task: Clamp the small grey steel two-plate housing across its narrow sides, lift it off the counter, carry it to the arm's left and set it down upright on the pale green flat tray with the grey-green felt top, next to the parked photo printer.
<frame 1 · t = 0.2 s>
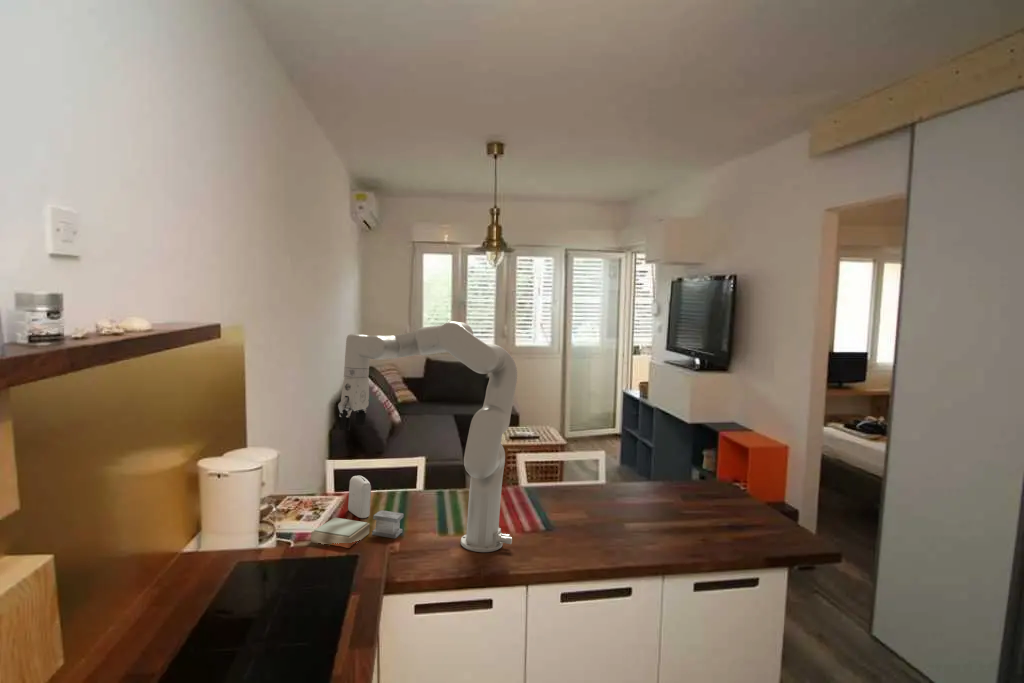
hand: (352, 427, 167), 30 cm above the table, tool pointing down, fingers open, 9 cm apart
photo printer: (358, 514, 176), on the table
pale green flat tray: (340, 537, 156), on the table
steel housing: (387, 533, 161), on the table
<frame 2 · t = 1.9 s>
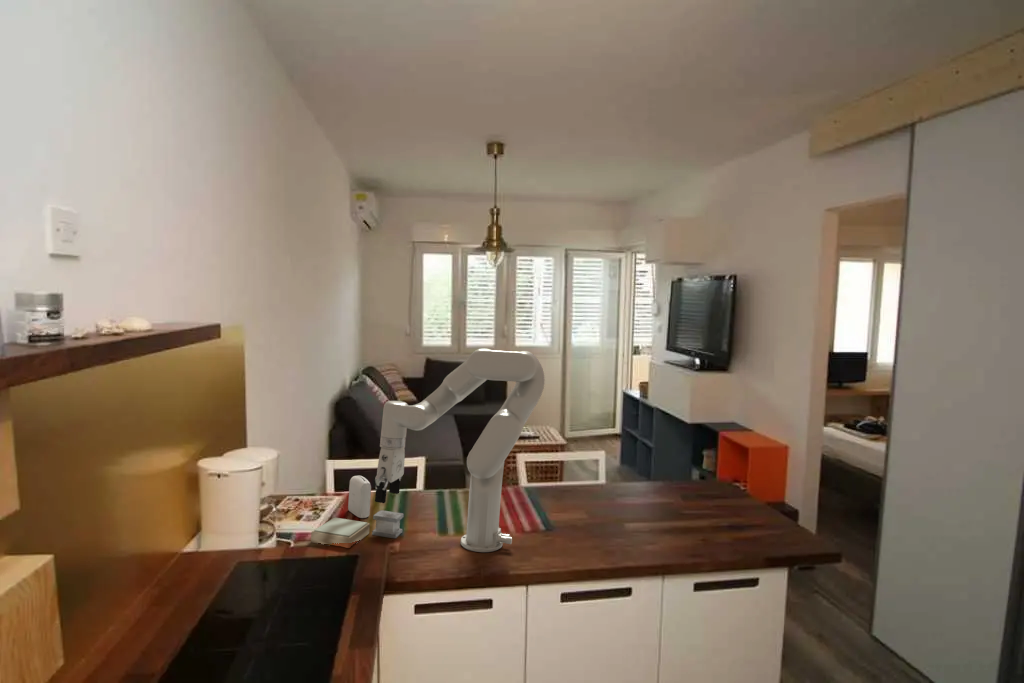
hand: (387, 497, 161), 11 cm above the table, tool pointing down, fingers open, 9 cm apart
nothing on the table moved.
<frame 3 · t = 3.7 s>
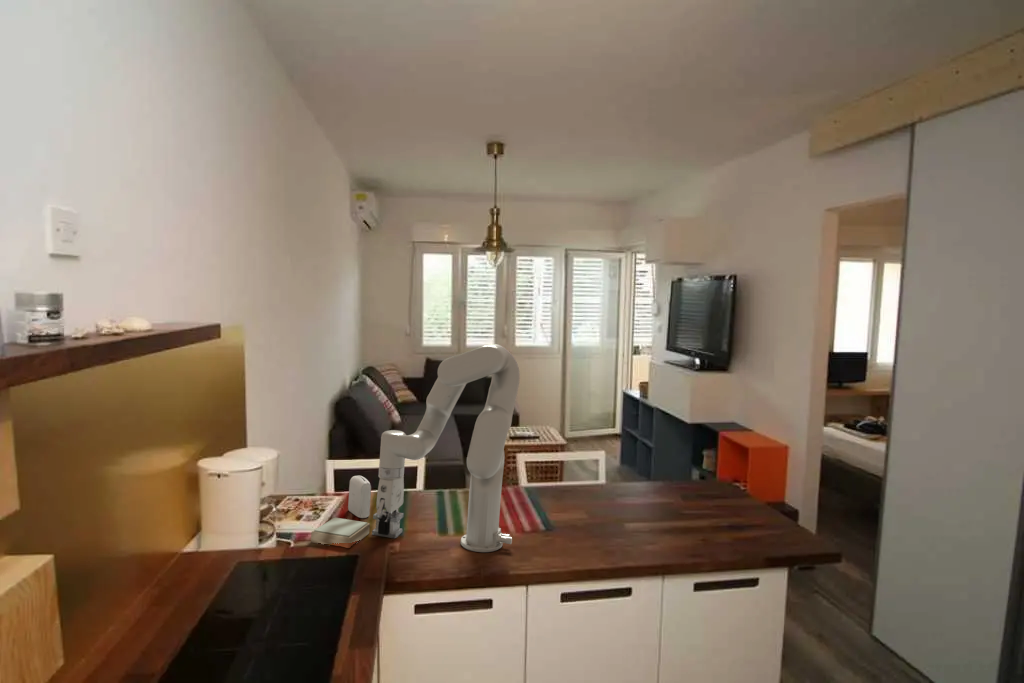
hand: (387, 530, 161), 1 cm above the table, tool pointing down, fingers closed on steel housing, 5 cm apart
steel housing: (387, 533, 161), on the table, touching gripper
everything else where it was.
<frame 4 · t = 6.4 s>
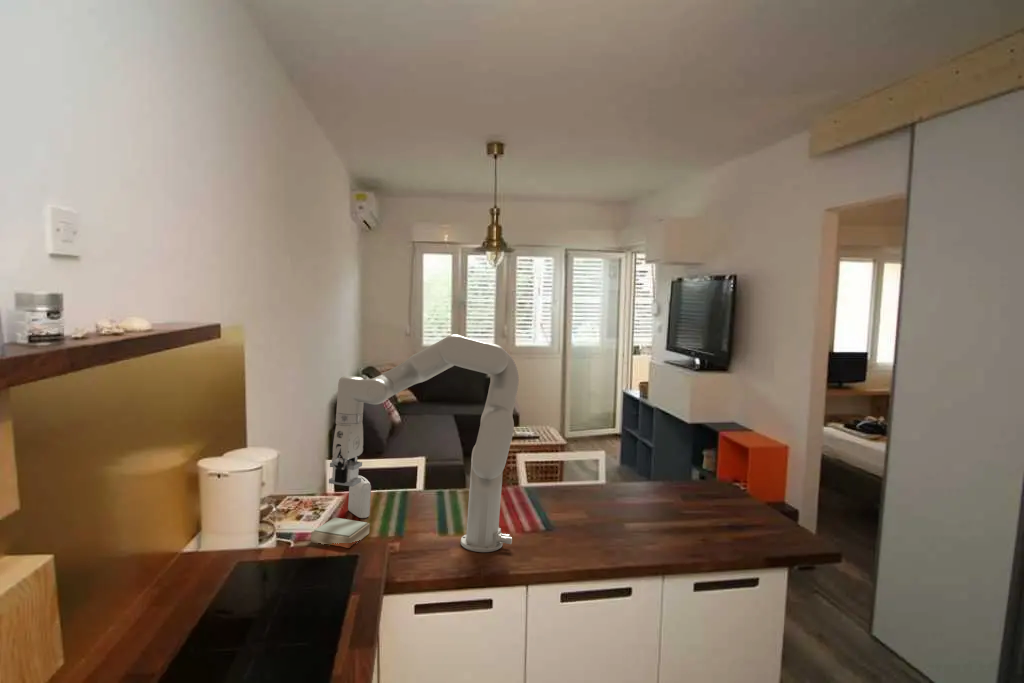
hand: (345, 479, 155), 17 cm above the table, tool pointing down, fingers closed on steel housing, 5 cm apart
steel housing: (344, 482, 155), point 16 cm above the table, touching gripper
everything else where it was.
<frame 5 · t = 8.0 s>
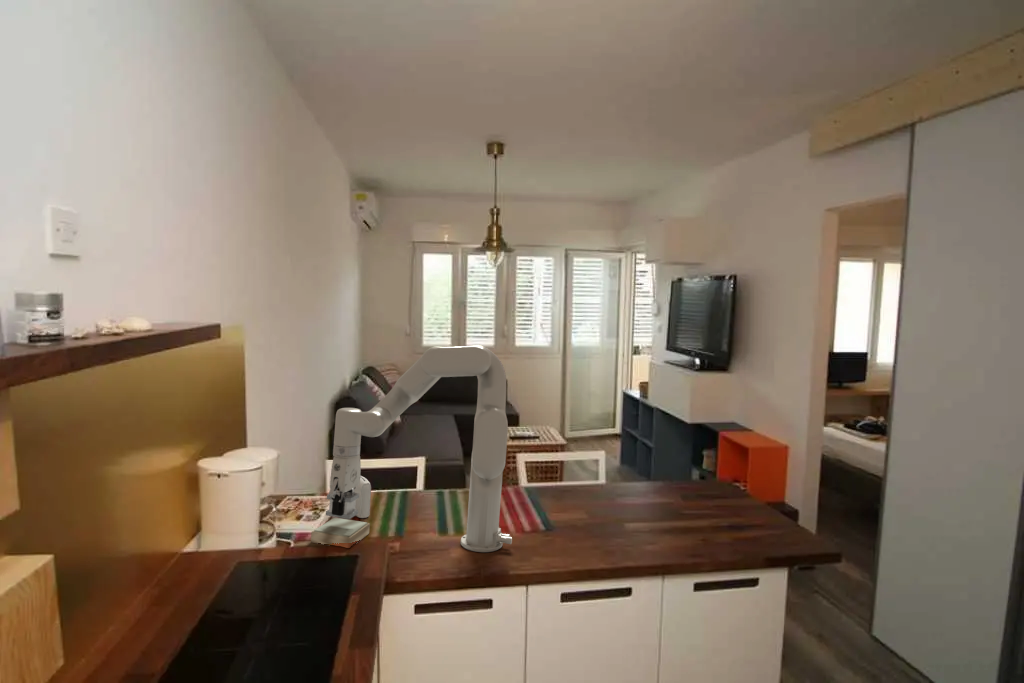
hand: (342, 511, 156), 8 cm above the table, tool pointing down, fingers closed on steel housing, 5 cm apart
steel housing: (341, 514, 156), point 7 cm above the table, touching gripper
everything else where it was.
when the fingers open (5 cm above the table, at t = 9.3 s): steel housing stays where it is, resting on pale green flat tray.
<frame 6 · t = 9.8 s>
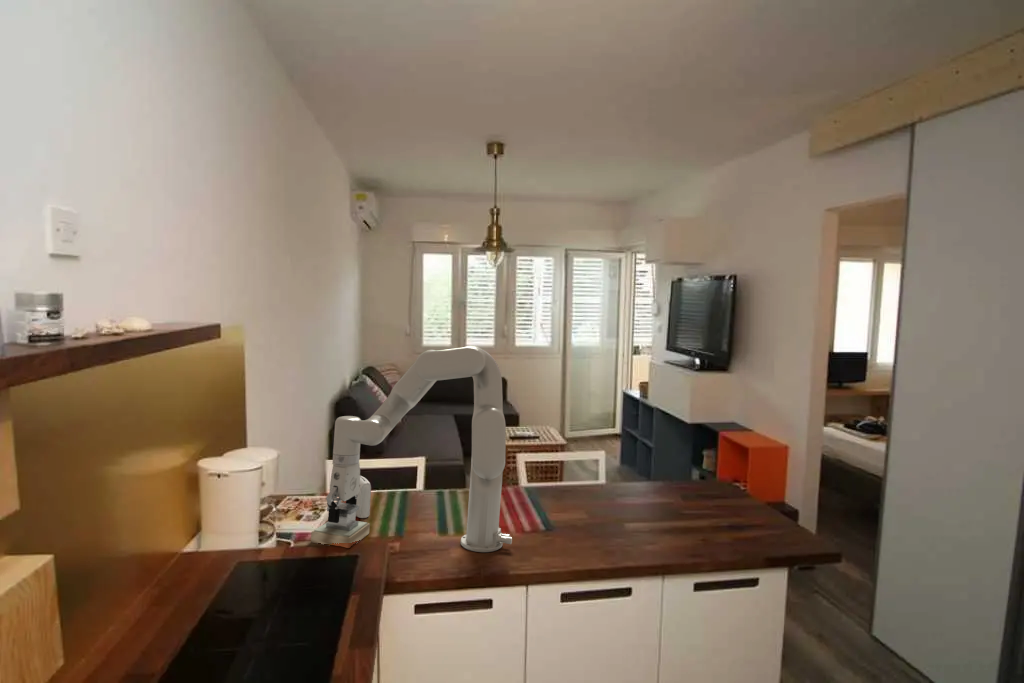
hand: (342, 516, 156), 6 cm above the table, tool pointing down, fingers open, 9 cm apart
steel housing: (342, 526, 156), point 3 cm above the table, touching pale green flat tray
everything else where it was.
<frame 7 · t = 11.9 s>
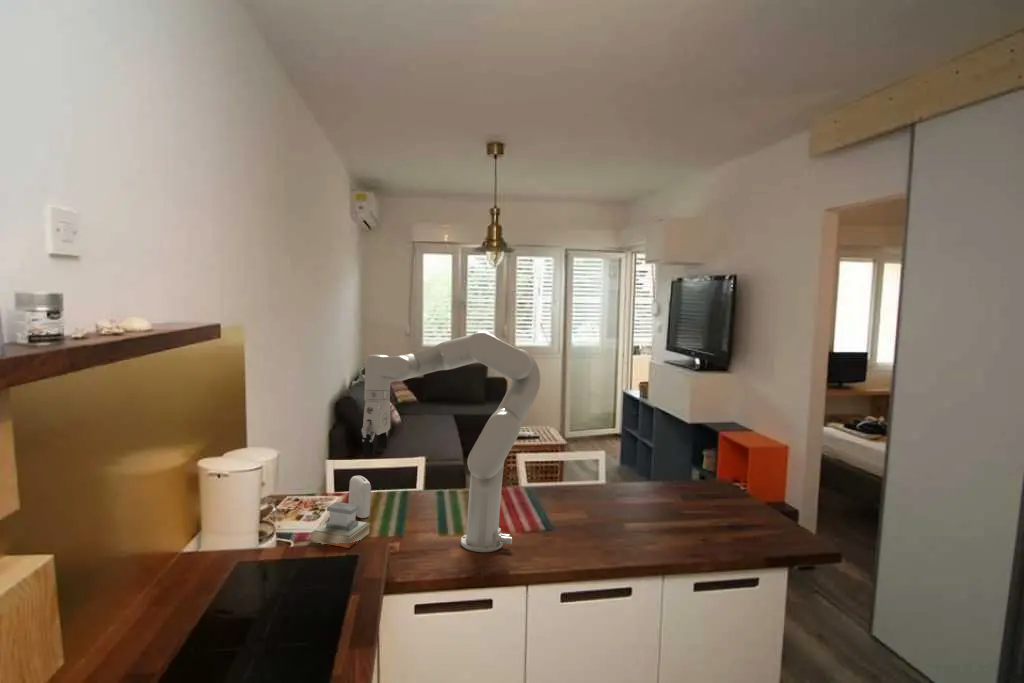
hand: (375, 451, 161), 25 cm above the table, tool pointing down, fingers open, 9 cm apart
nothing on the table moved.
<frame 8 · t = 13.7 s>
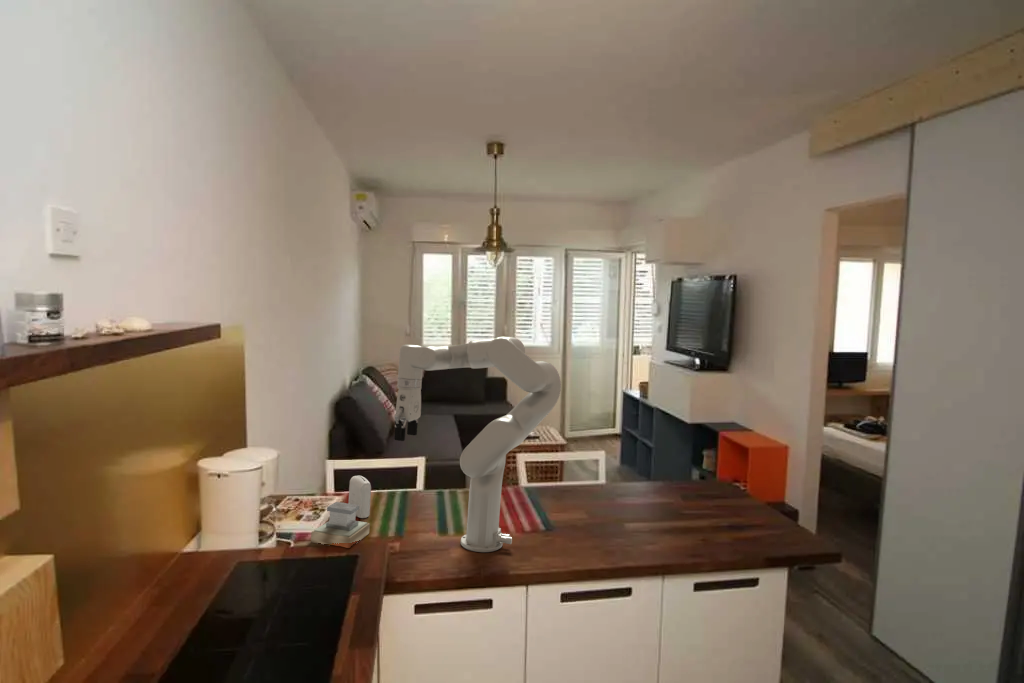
hand: (405, 437, 167), 28 cm above the table, tool pointing down, fingers open, 9 cm apart
nothing on the table moved.
at the end: steel housing inside the target area on the pale green flat tray (0.1 cm from its centre), point 3.4 cm above the pale green flat tray's base; steel housing tilted 0°; the gripper is holding nothing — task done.
